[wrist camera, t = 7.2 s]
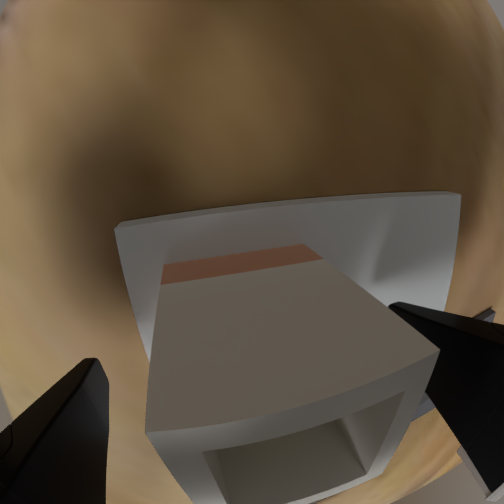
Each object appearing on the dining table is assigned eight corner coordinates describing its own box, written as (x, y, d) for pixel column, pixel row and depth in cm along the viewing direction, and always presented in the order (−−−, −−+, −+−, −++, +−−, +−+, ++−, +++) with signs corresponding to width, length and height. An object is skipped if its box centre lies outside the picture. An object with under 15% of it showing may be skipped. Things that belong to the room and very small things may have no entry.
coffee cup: (493, 416, 31) (534, 458, 17) (461, 452, 33) (498, 494, 19) (479, 423, 28) (526, 472, 14) (442, 462, 29) (483, 512, 16)
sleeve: (303, 243, 9) (439, 350, 4) (303, 352, 11) (381, 474, 5) (163, 264, 8) (144, 431, 3) (189, 374, 10) (211, 523, 4)
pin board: (446, 191, 11) (512, 208, 8) (413, 370, 15) (451, 407, 11) (120, 221, 9) (80, 263, 5) (185, 435, 12) (192, 499, 8)
